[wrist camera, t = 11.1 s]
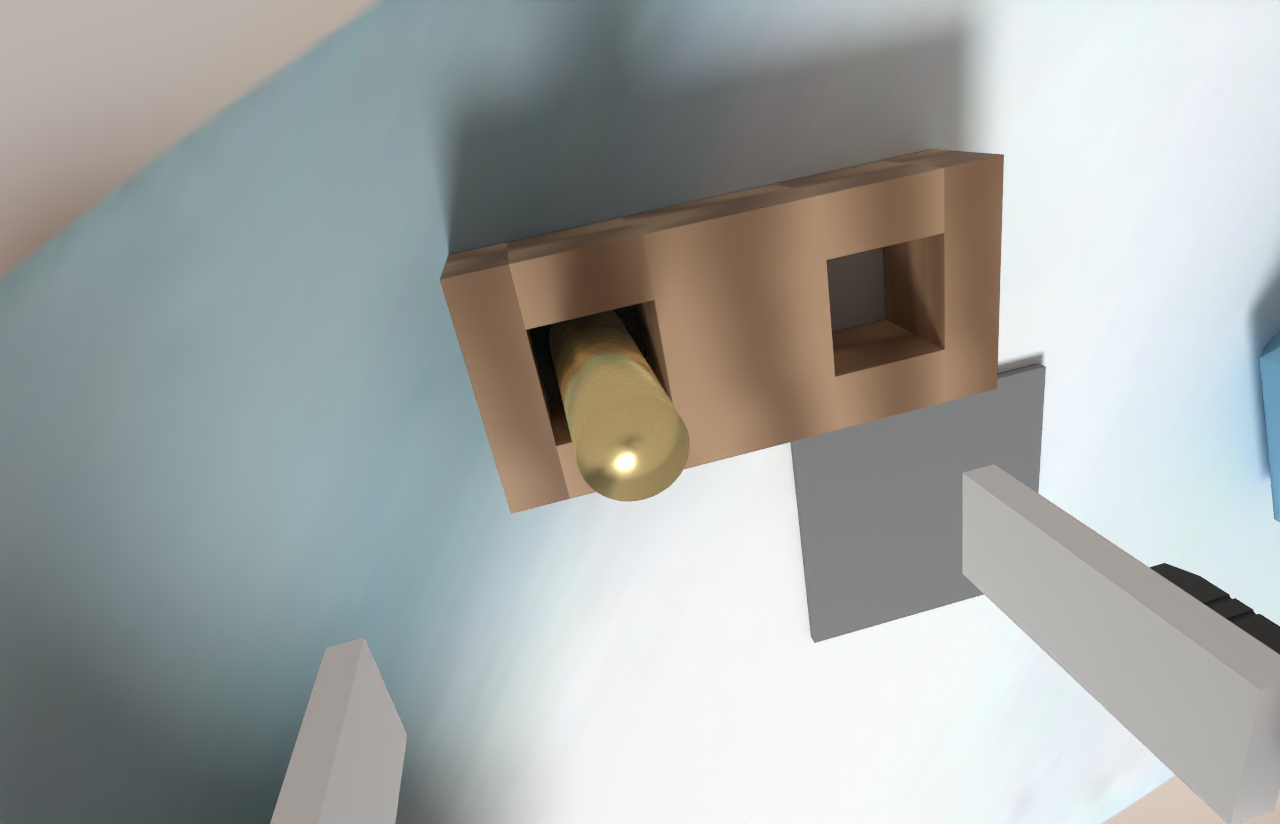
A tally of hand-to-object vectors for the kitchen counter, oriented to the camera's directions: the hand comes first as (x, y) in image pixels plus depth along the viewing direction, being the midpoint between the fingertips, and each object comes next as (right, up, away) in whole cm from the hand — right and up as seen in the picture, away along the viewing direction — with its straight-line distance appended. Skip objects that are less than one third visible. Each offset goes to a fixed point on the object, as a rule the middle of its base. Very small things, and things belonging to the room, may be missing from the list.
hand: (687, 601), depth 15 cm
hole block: (+2, +9, +18) cm, 20 cm away
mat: (+15, -1, +24) cm, 29 cm away
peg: (-3, +7, +17) cm, 19 cm away
